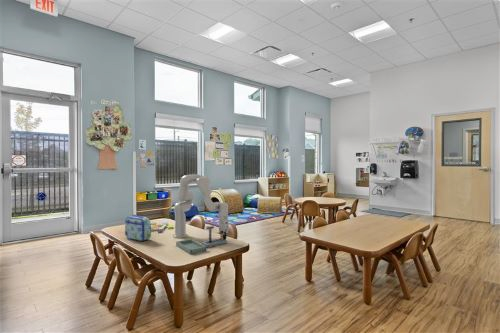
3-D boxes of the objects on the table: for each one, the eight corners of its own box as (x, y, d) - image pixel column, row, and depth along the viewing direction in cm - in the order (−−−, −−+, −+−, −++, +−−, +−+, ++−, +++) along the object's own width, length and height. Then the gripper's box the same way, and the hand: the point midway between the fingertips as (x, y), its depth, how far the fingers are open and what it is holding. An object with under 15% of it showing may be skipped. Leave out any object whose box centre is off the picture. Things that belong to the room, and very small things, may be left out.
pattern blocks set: (138, 226, 293) (138, 223, 293) (171, 223, 305) (171, 221, 305) (138, 235, 258) (138, 232, 258) (174, 232, 270) (174, 229, 270)
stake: (206, 245, 225) (206, 227, 225) (212, 244, 229) (212, 225, 228) (207, 246, 223) (207, 227, 223) (214, 245, 227) (214, 226, 227)
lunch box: (123, 238, 246) (123, 215, 246) (133, 235, 256) (133, 213, 255) (141, 243, 233) (141, 218, 232) (152, 239, 242) (152, 216, 241)
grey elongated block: (206, 247, 219) (206, 238, 219) (201, 244, 226) (201, 236, 225) (227, 242, 232) (227, 234, 232) (222, 240, 238) (222, 232, 238)
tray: (176, 245, 225) (176, 241, 225) (191, 242, 233) (191, 238, 233) (190, 254, 204) (190, 249, 204) (206, 250, 212) (206, 246, 212)
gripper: (232, 218, 230) (232, 240, 230) (222, 215, 242) (222, 236, 243) (225, 219, 225) (224, 241, 225) (214, 216, 238) (214, 237, 238)
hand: (223, 238), depth 234 cm, fingers closed on grey elongated block, 3 cm apart
